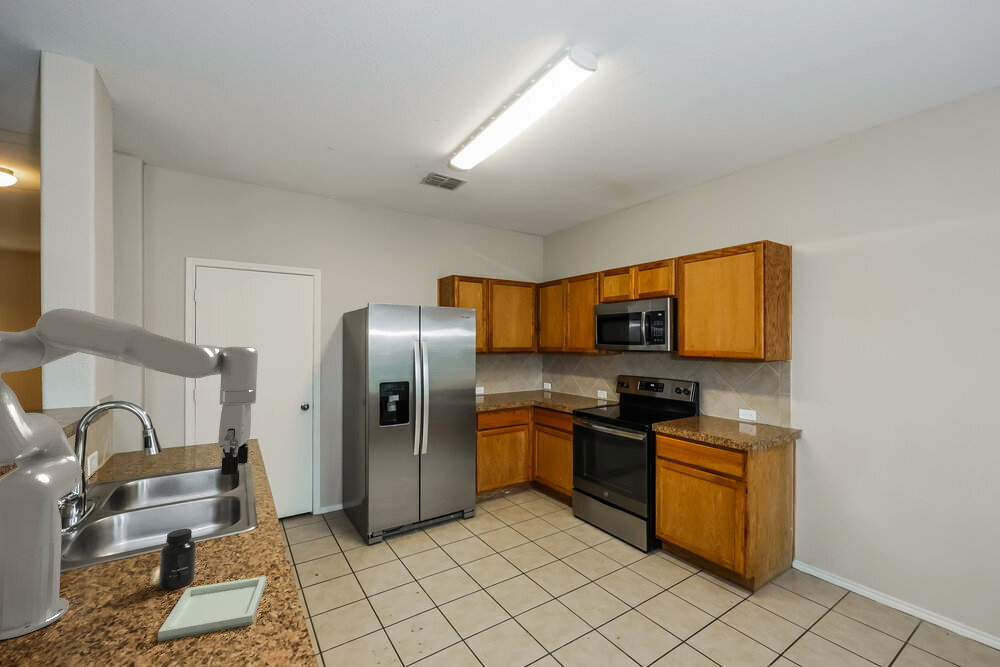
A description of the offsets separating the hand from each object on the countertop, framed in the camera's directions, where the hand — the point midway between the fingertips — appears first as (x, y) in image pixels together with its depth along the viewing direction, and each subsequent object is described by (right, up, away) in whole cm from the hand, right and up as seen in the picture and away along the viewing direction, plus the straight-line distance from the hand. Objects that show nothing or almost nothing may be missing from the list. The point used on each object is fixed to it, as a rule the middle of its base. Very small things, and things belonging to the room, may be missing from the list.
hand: (235, 468), depth 105 cm
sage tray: (+3, -27, -11) cm, 29 cm away
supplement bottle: (-13, -27, -1) cm, 30 cm away
